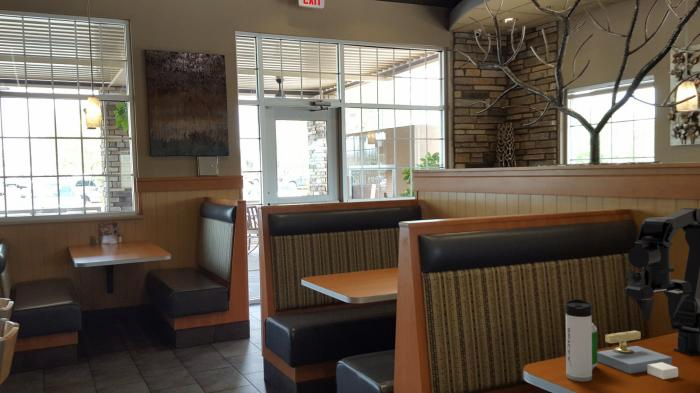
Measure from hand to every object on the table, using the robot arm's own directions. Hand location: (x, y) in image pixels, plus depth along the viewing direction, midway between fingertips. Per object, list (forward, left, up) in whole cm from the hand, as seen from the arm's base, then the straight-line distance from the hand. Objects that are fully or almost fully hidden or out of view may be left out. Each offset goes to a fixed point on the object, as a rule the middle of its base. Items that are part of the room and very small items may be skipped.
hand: (659, 319), depth 161 cm
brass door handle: (+6, -6, -10) cm, 13 cm away
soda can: (+21, -6, -13) cm, 25 cm away
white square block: (+7, +7, -13) cm, 16 cm away
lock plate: (+6, -3, -12) cm, 14 cm away
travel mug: (+28, 0, -12) cm, 30 cm away
